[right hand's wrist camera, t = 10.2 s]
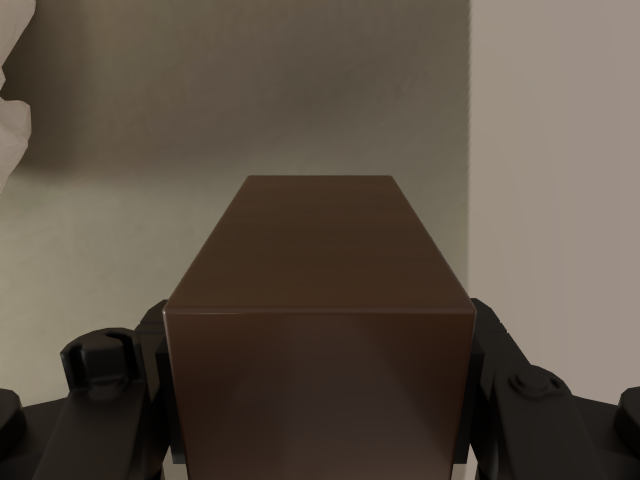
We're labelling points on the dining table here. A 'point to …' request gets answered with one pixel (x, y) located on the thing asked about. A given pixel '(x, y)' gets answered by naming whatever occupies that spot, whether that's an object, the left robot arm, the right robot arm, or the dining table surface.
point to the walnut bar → (319, 338)
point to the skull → (3, 116)
